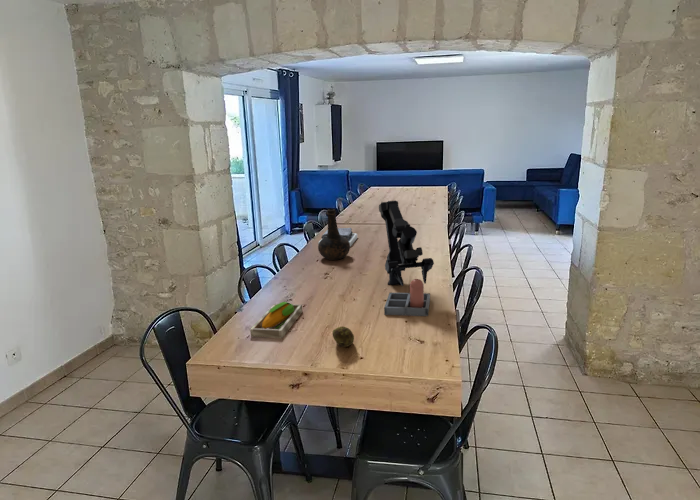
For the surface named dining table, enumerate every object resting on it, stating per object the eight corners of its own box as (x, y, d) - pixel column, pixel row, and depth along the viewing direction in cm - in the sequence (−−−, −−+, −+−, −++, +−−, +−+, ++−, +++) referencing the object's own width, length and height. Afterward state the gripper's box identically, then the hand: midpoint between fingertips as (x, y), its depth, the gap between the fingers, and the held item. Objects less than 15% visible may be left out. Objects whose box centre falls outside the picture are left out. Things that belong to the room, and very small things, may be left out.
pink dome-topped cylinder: (407, 309, 193) (406, 278, 190) (417, 306, 196) (417, 276, 192) (416, 313, 189) (415, 282, 185) (426, 310, 191) (426, 279, 188)
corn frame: (274, 310, 201) (274, 303, 200) (302, 311, 198) (301, 304, 198) (251, 336, 177) (250, 329, 176) (282, 338, 175) (281, 330, 174)
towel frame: (327, 237, 320) (327, 233, 319) (357, 237, 315) (357, 233, 314) (318, 246, 298) (318, 242, 297) (350, 247, 294) (349, 242, 293)
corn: (297, 297, 192) (270, 317, 175) (300, 315, 194) (273, 336, 176) (281, 297, 195) (253, 316, 178) (284, 314, 197) (256, 335, 179)
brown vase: (351, 253, 280) (349, 205, 273) (348, 262, 263) (346, 211, 255) (321, 254, 282) (318, 206, 275) (316, 263, 265) (312, 212, 257)
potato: (359, 338, 172) (358, 317, 170) (352, 355, 160) (350, 332, 157) (336, 336, 174) (335, 316, 171) (327, 353, 161) (326, 331, 159)
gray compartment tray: (389, 299, 207) (389, 292, 206) (430, 300, 203) (429, 293, 202) (384, 314, 191) (384, 307, 190) (427, 316, 187) (427, 308, 186)
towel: (326, 239, 315) (325, 227, 313) (354, 238, 312) (353, 227, 310) (321, 245, 301) (320, 232, 299) (350, 244, 298) (349, 232, 296)
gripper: (387, 242, 193) (394, 277, 185) (432, 238, 195) (441, 273, 187) (383, 256, 202) (390, 290, 195) (426, 252, 205) (435, 285, 197)
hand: (414, 284), depth 193 cm, fingers open, 9 cm apart
